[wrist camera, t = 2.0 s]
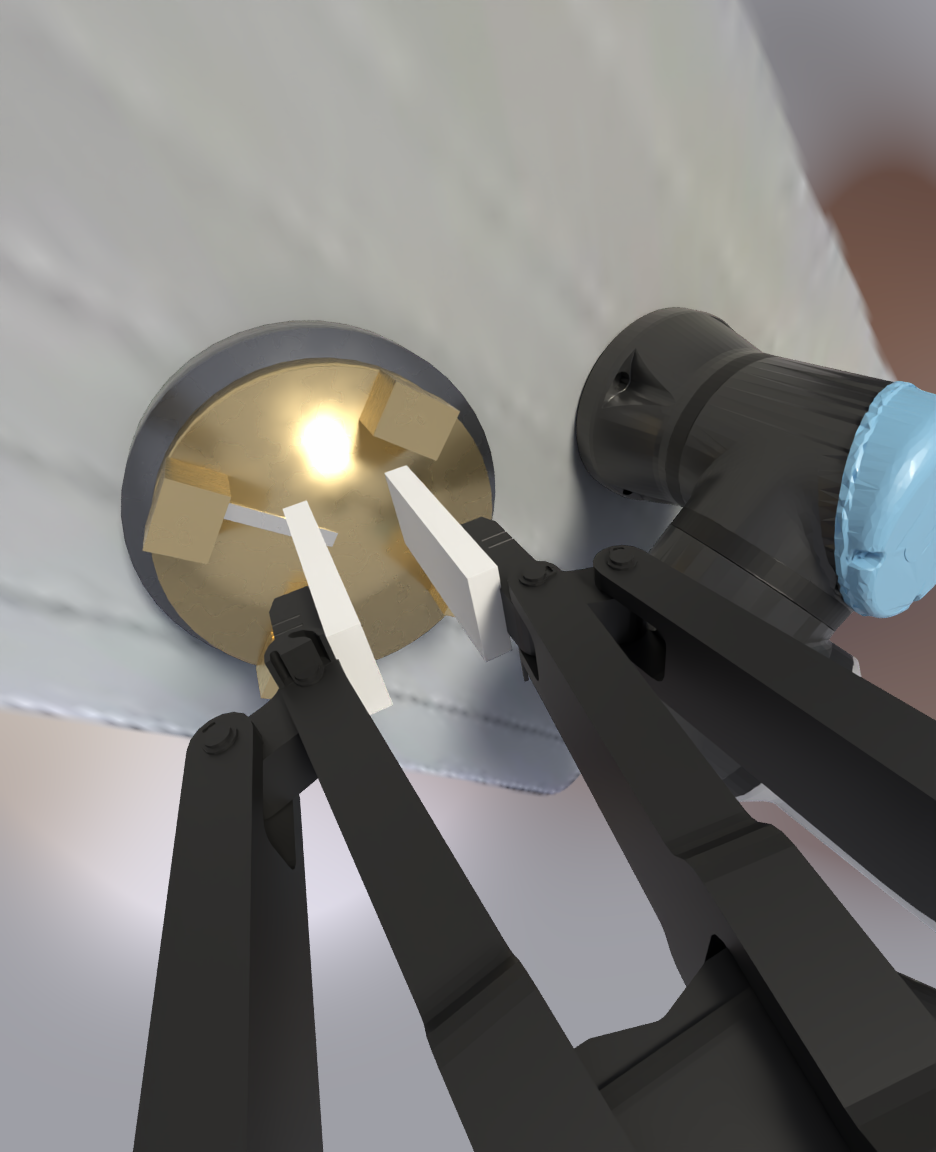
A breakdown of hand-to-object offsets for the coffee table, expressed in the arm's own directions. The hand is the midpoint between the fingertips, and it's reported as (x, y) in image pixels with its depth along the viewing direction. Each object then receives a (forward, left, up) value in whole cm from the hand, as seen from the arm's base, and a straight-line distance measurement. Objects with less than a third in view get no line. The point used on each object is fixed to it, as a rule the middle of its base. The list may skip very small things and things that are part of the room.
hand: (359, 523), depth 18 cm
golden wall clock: (+1, +9, -17) cm, 20 cm away
